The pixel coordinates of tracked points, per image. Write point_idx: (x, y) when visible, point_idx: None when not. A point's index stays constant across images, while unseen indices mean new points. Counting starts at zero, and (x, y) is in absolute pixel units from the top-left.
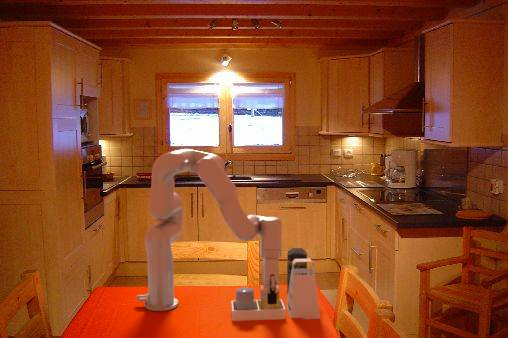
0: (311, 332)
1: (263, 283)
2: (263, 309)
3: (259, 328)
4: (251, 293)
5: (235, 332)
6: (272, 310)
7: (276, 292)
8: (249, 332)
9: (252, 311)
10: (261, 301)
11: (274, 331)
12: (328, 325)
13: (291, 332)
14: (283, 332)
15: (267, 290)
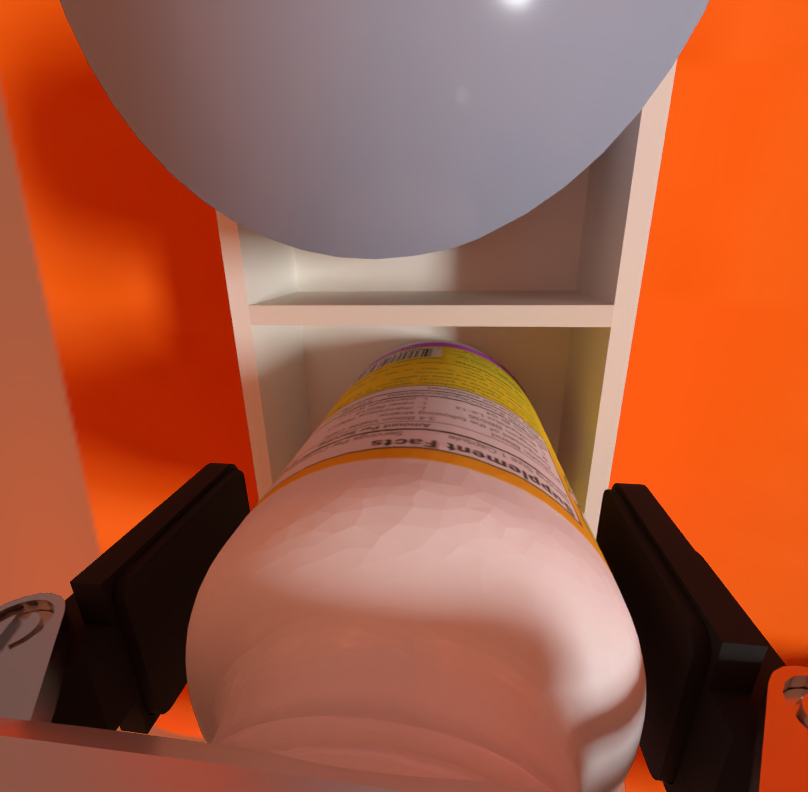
0: None
1: (42, 745)
2: (360, 376)
3: (139, 286)
4: (177, 169)
5: (5, 8)
6: (258, 473)
7: (146, 732)
8: (39, 178)
9: (226, 218)
10: (388, 383)
11: (103, 408)
12: None
13: (108, 521)
14: (98, 470)
15: (193, 616)
